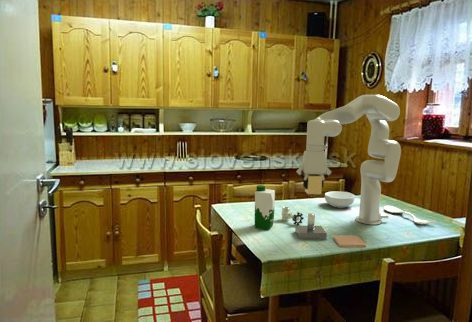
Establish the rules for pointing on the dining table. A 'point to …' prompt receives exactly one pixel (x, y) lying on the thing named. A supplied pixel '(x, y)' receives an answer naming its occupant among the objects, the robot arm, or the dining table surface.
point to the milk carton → (264, 208)
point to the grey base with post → (311, 230)
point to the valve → (291, 216)
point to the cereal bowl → (339, 199)
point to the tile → (349, 241)
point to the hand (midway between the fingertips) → (313, 188)
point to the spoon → (396, 210)
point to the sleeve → (314, 184)
